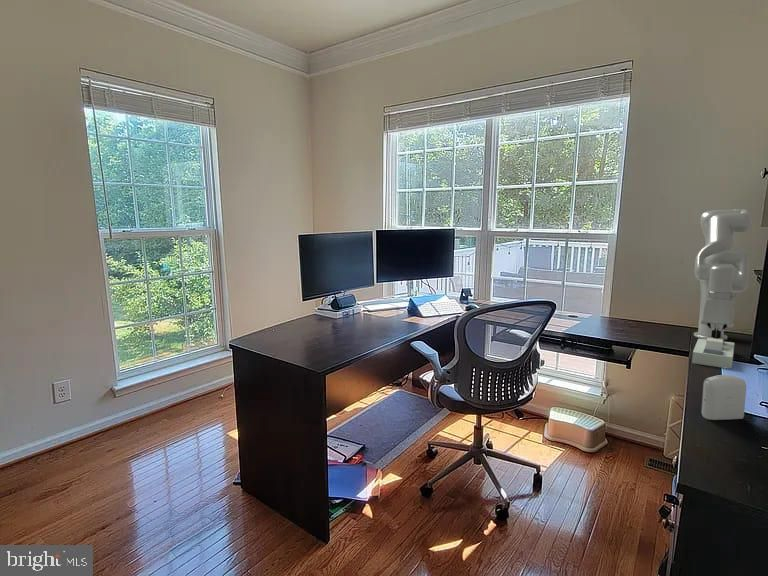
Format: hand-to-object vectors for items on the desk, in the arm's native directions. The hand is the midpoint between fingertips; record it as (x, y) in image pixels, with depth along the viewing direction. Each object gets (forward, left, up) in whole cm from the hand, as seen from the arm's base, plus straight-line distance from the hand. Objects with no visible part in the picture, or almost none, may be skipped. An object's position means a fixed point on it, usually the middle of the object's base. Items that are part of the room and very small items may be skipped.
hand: (715, 339), depth 175 cm
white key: (+8, 0, -2) cm, 8 cm away
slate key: (+16, 0, -4) cm, 16 cm away
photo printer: (+71, +5, -6) cm, 71 cm away
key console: (+8, 0, -6) cm, 10 cm away
